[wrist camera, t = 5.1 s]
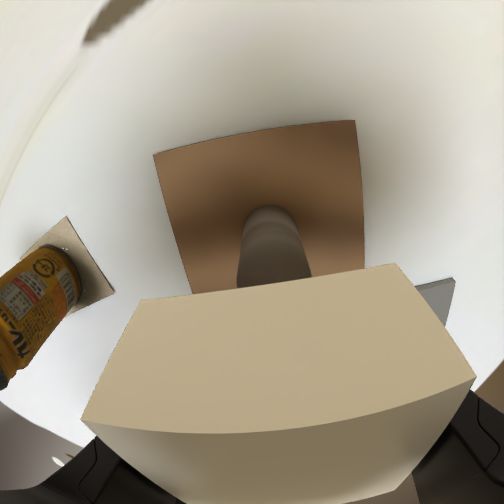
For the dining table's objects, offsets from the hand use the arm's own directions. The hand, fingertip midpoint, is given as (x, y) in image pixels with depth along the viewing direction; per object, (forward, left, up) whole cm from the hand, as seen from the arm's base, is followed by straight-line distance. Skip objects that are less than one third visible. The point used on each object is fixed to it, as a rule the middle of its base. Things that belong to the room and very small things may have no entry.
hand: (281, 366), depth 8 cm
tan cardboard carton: (0, 0, 0) cm, 0 cm away
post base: (0, 0, -12) cm, 12 cm away
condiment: (-1, +18, -12) cm, 22 cm away
